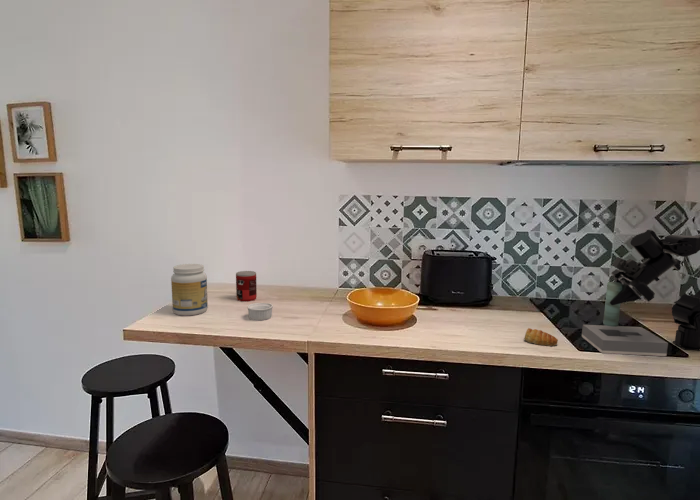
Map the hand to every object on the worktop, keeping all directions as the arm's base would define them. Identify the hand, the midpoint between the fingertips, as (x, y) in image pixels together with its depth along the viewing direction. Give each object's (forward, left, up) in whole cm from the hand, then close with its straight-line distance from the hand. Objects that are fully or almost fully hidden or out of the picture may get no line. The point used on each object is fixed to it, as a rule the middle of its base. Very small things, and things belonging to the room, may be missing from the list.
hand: (608, 302), depth 137 cm
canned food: (+124, -33, -14) cm, 129 cm away
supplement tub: (+139, -14, -14) cm, 140 cm away
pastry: (+20, +1, -14) cm, 24 cm away
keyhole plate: (-5, +1, -13) cm, 14 cm away
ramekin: (+112, -11, -14) cm, 113 cm away
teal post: (-1, 0, -7) cm, 7 cm away
